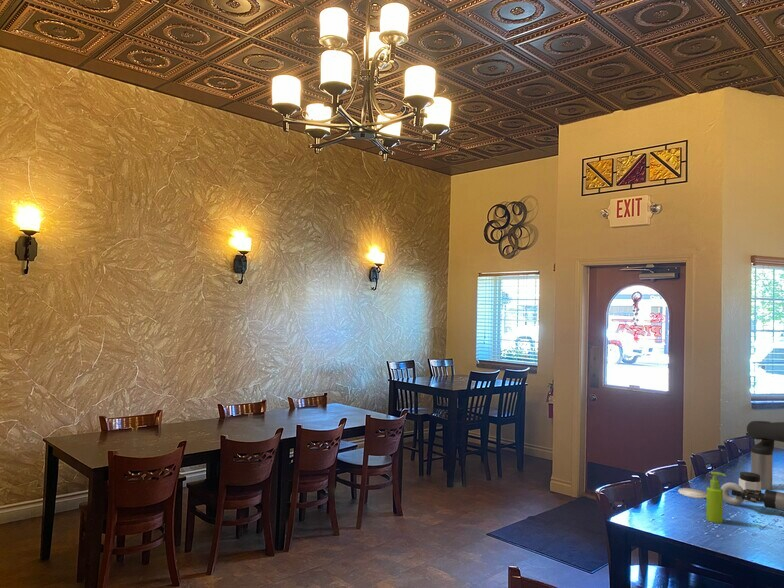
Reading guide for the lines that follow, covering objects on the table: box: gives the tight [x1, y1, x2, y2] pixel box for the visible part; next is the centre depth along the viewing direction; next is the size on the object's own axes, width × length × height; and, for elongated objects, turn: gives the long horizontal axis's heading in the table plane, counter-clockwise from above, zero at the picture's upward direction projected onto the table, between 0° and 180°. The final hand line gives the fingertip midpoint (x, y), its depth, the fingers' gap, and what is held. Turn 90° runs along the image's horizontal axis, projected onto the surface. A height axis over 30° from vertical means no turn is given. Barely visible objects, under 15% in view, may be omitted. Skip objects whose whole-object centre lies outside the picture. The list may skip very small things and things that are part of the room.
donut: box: [720, 481, 745, 506], centre depth 259 cm, size 10×3×10 cm, turn 49°
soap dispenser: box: [705, 471, 727, 524], centre depth 237 cm, size 6×7×20 cm
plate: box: [677, 487, 707, 500], centre depth 273 cm, size 13×13×1 cm
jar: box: [738, 471, 762, 504], centre depth 267 cm, size 9×8×12 cm
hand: (733, 491), depth 259 cm, fingers closed on donut, 3 cm apart
